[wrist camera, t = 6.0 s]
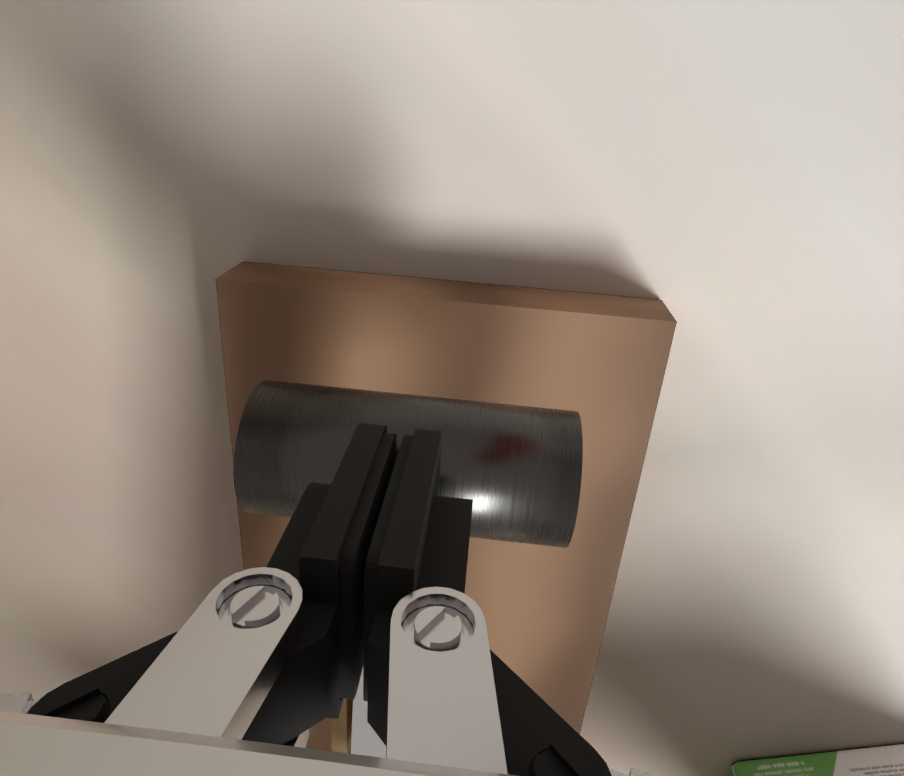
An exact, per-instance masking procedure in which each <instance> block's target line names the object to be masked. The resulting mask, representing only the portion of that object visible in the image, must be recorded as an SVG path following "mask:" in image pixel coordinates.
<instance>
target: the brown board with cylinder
mask: <svg viewBox="0 0 904 776" xmlns="http://www.w3.org/2000/svg"><path fill="white" fill-rule="evenodd" d="M216 288H217V298H218V308H219V318H220V329H221V339H222V349H223V360H224V370H225V380H226V390H227V401H228V411H229V421H230V432H231V442H232V452H233V462H234V454H235V445H236V438H237V433H238V428H239V424H240V420H241V417H242V414H243V411H244V408H245V405H246V403H247V401H248V399H249V397H250V395H251V393H252V391H253V390H254V389H255V387H256V386H257V385H258V384H259V383H260V382H262V381H264V380H271V381H281V382H291V383H301V384H311V385H321V386H331V387H341V388H351V389H361V390H371V391H381V392H391V393H401V394H411V395H421V396H431V397H441V398H451V399H461V400H471V401H481V402H491V403H501V404H511V405H521V406H531V407H541V408H551V409H560V410H570V411H578V412H579V415H580V418H581V424H582V437H583V459H582V478H581V489H580V498H579V506H578V513H577V518H576V524H575V528H574V532H573V536H572V539H571V542H570V544H569V546H568V547H567V548H562V547H553V546H544V545H535V544H526V543H517V542H508V541H499V540H490V539H481V538H472V537H470V539H469V550H468V561H467V572H466V583H465V595H467V596H468V597H470V598H471V599H473V600H474V601H475V602H476V604H477V605H478V606H479V607H480V608H481V610H482V612H483V615H484V618H485V621H486V627H487V634H488V641H489V648H490V650H491V651H492V652H494V653H495V654H496V655H497V656H498V657H499V658H500V659H501V660H502V661H503V662H504V663H505V664H506V665H507V666H508V667H509V668H510V669H511V670H512V671H513V672H514V673H516V674H517V675H518V676H519V677H520V678H521V679H522V680H523V681H524V682H525V683H526V684H527V685H528V686H529V687H530V688H531V689H532V690H533V691H534V692H535V693H536V694H538V695H539V696H540V697H541V698H542V699H543V700H544V701H545V702H546V703H547V704H548V705H549V706H550V707H551V708H552V709H553V710H554V711H555V712H556V713H557V714H558V715H560V716H561V717H562V718H563V719H564V720H565V721H566V722H567V723H568V724H569V725H570V726H571V727H572V728H573V729H574V730H575V731H576V732H577V733H578V734H580V730H581V726H582V722H583V717H584V713H585V709H586V705H587V700H588V696H589V692H590V688H591V683H592V679H593V675H594V671H595V666H596V662H597V658H598V654H599V649H600V645H601V641H602V637H603V632H604V628H605V624H606V620H607V615H608V611H609V607H610V603H611V599H612V594H613V590H614V586H615V582H616V577H617V573H618V569H619V565H620V560H621V556H622V552H623V548H624V543H625V539H626V535H627V531H628V526H629V522H630V518H631V514H632V509H633V505H634V501H635V497H636V492H637V488H638V484H639V480H640V475H641V471H642V467H643V463H644V458H645V454H646V450H647V446H648V441H649V437H650V433H651V429H652V425H653V420H654V416H655V412H656V408H657V403H658V399H659V395H660V391H661V386H662V382H663V378H664V374H665V369H666V365H667V361H668V357H669V352H670V348H671V344H672V340H673V335H674V331H675V327H676V323H677V322H676V320H675V319H674V317H673V316H672V314H671V313H670V312H669V310H668V309H667V307H666V306H665V304H664V303H663V302H662V300H657V299H646V298H635V297H624V296H613V295H602V294H591V293H580V292H569V291H559V290H548V289H537V288H526V287H515V286H504V285H493V284H482V283H471V282H460V281H449V280H438V279H427V278H416V277H405V276H394V275H383V274H372V273H361V272H350V271H339V270H328V269H317V268H306V267H295V266H284V265H273V264H262V263H251V262H242V263H240V264H238V265H237V266H235V267H234V268H232V269H231V270H229V271H228V272H226V273H224V274H223V275H221V276H220V277H218V278H217V279H216ZM237 504H238V514H239V524H240V534H241V545H242V555H243V565H244V570H246V569H250V568H259V567H267V565H268V563H269V561H270V559H271V557H272V555H273V553H274V551H275V549H276V547H277V545H278V543H279V541H280V539H281V537H282V535H283V533H284V531H285V529H286V527H287V525H288V523H289V521H290V519H291V517H283V516H274V515H265V514H256V513H248V512H245V511H244V510H243V509H242V508H241V506H240V504H239V502H238V499H237ZM352 712H353V700H352V699H344V700H343V704H342V707H341V711H340V715H339V718H338V719H333V718H325V719H324V720H322V721H321V722H319V723H317V724H316V725H314V726H313V727H311V728H309V738H308V742H307V745H306V748H310V749H318V750H326V751H333V752H341V753H349V754H351V738H352Z"/></svg>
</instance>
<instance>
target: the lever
mask: <svg viewBox="0 0 904 776" xmlns="http://www.w3.org/2000/svg"><path fill="white" fill-rule="evenodd" d="M359 423H366V424H375V425H385V426H387V433H394V434H396V437H397V443H396V459H397V455H398V452H399V449H400V446H401V442H402V439H403V436H404V435H413V434H414V431H415V429H425V430H435V431H442V450H441V464H440V478H439V491H438V496H445V497H455V498H464V499H473V506H472V517H471V528H470V537H472V538H481V539H490V540H499V541H508V542H517V543H526V544H535V545H544V546H553V547H562V548H567V547H568V546H569V544H570V542H571V539H572V536H573V532H574V528H575V524H576V518H577V513H578V506H579V498H580V489H581V478H582V459H583V437H582V424H581V418H580V415H579V412H578V411H570V410H560V409H551V408H541V407H531V406H521V405H511V404H501V403H491V402H481V401H471V400H461V399H451V398H441V397H431V396H421V395H411V394H401V393H391V392H381V391H371V390H361V389H351V388H341V387H331V386H321V385H311V384H301V383H291V382H281V381H271V380H264V381H262V382H260V383H259V384H258V385H257V386H256V387H255V389H254V390H253V391H252V393H251V395H250V397H249V399H248V401H247V403H246V405H245V408H244V411H243V414H242V417H241V420H240V424H239V428H238V433H237V438H236V445H235V454H234V484H235V491H236V496H237V499H238V502H239V504H240V506H241V508H242V509H243V510H244V511H245V512H248V513H256V514H265V515H274V516H283V517H292V515H293V513H294V511H295V509H296V507H297V505H298V503H299V501H300V499H301V497H302V495H303V493H304V491H305V489H306V488H307V486H308V485H309V483H312V482H314V483H323V484H331V483H332V481H333V479H334V477H335V475H336V472H337V470H338V468H339V466H340V463H341V461H342V459H343V457H344V454H345V452H346V450H347V448H348V445H349V443H350V441H351V439H352V437H353V434H354V432H355V430H356V428H357V425H358V424H359ZM367 705H368V701H364V700H363V670H362V674H361V677H360V681H359V685H358V689H357V693H356V696H355V699H354V700H353V712H352V738H351V754H357V755H365V756H373V757H380V758H386V745H385V744H384V743H383V742H382V740H381V739H380V738H379V736H378V735H377V734H376V732H375V731H374V730H373V728H372V727H371V726H370V724H369V723H368V722H367Z"/></svg>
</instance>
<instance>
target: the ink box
mask: <svg viewBox="0 0 904 776" xmlns="http://www.w3.org/2000/svg"><path fill="white" fill-rule="evenodd" d="M731 770H732V774H733V776H904V744H899V745H890V746H880V747H871V748H862V749H853V750H844V751H834V752H825V753H816V754H807V755H797V756H788V757H778V758H769V759H760V760H749V761H740V762H736V763H735V764H734V765H731Z"/></svg>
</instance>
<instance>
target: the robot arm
mask: <svg viewBox="0 0 904 776" xmlns="http://www.w3.org/2000/svg"><path fill="white" fill-rule="evenodd" d="M396 443H397V437H396V434H394V433H387V426H385V425H375V424H366V423H359V424H358V425H357V428H356V430H355V432H354V434H353V437H352V439H351V441H350V443H349V445H348V448H347V450H346V452H345V454H344V457H343V459H342V461H341V463H340V466H339V468H338V470H337V472H336V475H335V477H334V479H333V481H332V483H331V484H323V483H314V482H312V483H309V485H308V486H307V488H306V489H305V491H304V493H303V495H302V497H301V499H300V501H299V503H298V505H297V507H296V509H295V511H294V513H293V515H292V517H291V519H290V521H289V523H288V525H287V527H286V529H285V531H284V533H283V535H282V537H281V539H280V541H279V543H278V545H277V547H276V549H275V551H274V553H273V555H272V557H271V559H270V561H269V563H268V565H267V567H259V568H250V569H246V570H243V571H240V572H237V573H234V574H232V575H231V576H229V577H227V578H225V579H224V580H222V581H221V582H220V583H219V584H218V585H217V586H216V587H214V588H213V589H212V591H211V592H210V593H209V594H208V595H207V597H206V598H205V599H204V600H203V602H202V603H201V604H200V605H199V607H198V608H197V609H196V610H195V611H194V613H193V614H192V615H191V616H190V618H189V619H188V620H187V621H186V623H185V624H184V625H183V626H182V628H181V629H180V630H179V631H178V632H175V633H173V634H171V635H169V636H167V637H165V638H162V639H160V640H158V641H156V642H154V643H152V644H149V645H147V646H145V647H143V648H141V649H138V650H136V651H134V652H132V653H130V654H128V655H125V656H123V657H121V658H119V659H117V660H115V661H112V662H110V663H108V664H106V665H104V666H101V667H99V668H97V669H95V670H93V671H91V672H88V673H86V674H84V675H82V676H80V677H78V678H75V679H73V680H71V681H69V682H67V683H64V684H63V685H61V686H59V687H58V688H56V689H54V690H52V691H51V692H49V693H47V694H46V695H45V696H44V697H42V698H41V699H40V700H36V701H33V699H32V696H31V693H22V694H10V695H0V776H654V775H651V774H648V773H645V772H642V771H640V770H637V769H634V768H631V770H630V773H629V775H627V774H624V773H621V772H618V771H615V770H613V769H610V768H608V766H607V764H606V762H605V761H604V760H603V759H602V757H601V756H600V755H599V754H598V753H597V751H596V750H595V749H594V748H593V747H592V746H591V745H590V744H589V743H588V742H587V741H586V740H585V739H584V738H583V737H581V736H580V735H579V734H578V733H577V732H576V731H575V730H574V729H573V728H572V727H571V726H570V725H569V724H568V723H567V722H566V721H565V720H564V719H563V718H562V717H561V716H560V715H558V714H557V713H556V712H555V711H554V710H553V709H552V708H551V707H550V706H549V705H548V704H547V703H546V702H545V701H544V700H543V699H542V698H541V697H540V696H539V695H538V694H536V693H535V692H534V691H533V690H532V689H531V688H530V687H529V686H528V685H527V684H526V683H525V682H524V681H523V680H522V679H521V678H520V677H519V676H518V675H517V674H516V673H514V672H513V671H512V670H511V669H510V668H509V667H508V666H507V665H506V664H505V663H504V662H503V661H502V660H501V659H500V658H499V657H498V656H497V655H496V654H495V653H494V652H492V651H491V650H490V648H489V641H488V634H487V627H486V621H485V618H484V615H483V612H482V610H481V608H480V607H479V606H478V605H477V604H476V602H475V601H474V600H473V599H471V598H470V597H468V596H467V595H465V583H466V572H467V561H468V550H469V539H470V528H471V517H472V506H473V499H464V498H455V497H445V496H438V491H439V478H440V464H441V450H442V431H435V430H425V429H415V431H414V434H413V435H404V436H403V439H402V442H401V446H400V449H399V452H398V455H397V459H396ZM362 670H363V700H364V701H368V705H367V722H368V723H369V724H370V726H371V727H372V728H373V730H374V731H375V732H376V734H377V735H378V736H379V738H380V739H381V740H382V742H383V743H384V744H385V745H386V758H380V757H373V756H365V755H357V754H349V753H341V752H333V751H326V750H318V749H310V748H306V745H307V742H308V738H309V728H311V727H313V726H314V725H316V724H317V723H319V722H321V721H322V720H324V719H325V718H333V719H338V718H339V715H340V711H341V707H342V704H343V700H344V699H352V700H354V699H355V696H356V693H357V689H358V685H359V681H360V677H361V674H362Z"/></svg>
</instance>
